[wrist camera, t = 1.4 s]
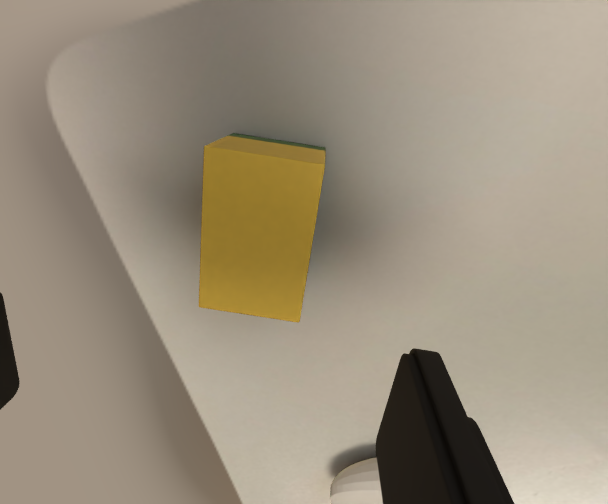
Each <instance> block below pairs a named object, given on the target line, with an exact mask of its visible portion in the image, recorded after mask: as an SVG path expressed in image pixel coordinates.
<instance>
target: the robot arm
mask: <svg viewBox="0 0 608 504" xmlns="http://www.w3.org/2000/svg"><path fill="white" fill-rule="evenodd" d="M18 388H19V377H18V372H17V366H16V361H15V356H14V351H13V346H12V341H11V336H10V330H9V326H8V320H7V315H6V310H5V305H4V300H3V296H2V294H1V293H0V409H1V408H2V407H3V406H4V405H6V403H8V402H9V401H10V400H11V399H12V398H13V397H14V395H15V394H16V392H17V390H18ZM376 457H377V464H378V471H379V478H380V486H381V493H382V500H383V504H514V502H513V500H512V498H511V496H510V494H509V491H508V489H507V487H506V485H505V483H504V481H503V478H502V476H501V474H500V472H499V470H498V468H497V465H496V463H495V461H494V459H493V457H492V455H491V452H490V450H489V448H488V446H487V444H486V442H485V439H484V437H483V435H482V433H481V431H480V429H479V427H478V425H477V423H476V422H475V421H474V420H473V419H472V418H469V417H467V415H466V412H465V410H464V408H463V406H462V403H461V401H460V399H459V397H458V394H457V392H456V390H455V388H454V385H453V383H452V381H451V378H450V376H449V374H448V372H447V369H446V367H445V365H444V363H443V360H442V358H441V356H440V354H439V353H437V352H433V351H427V350H420V349H412V350H411V351H410V353H409V354H403V355H402V356H401V359H400V362H399V366H398V369H397V372H396V375H395V379H394V382H393V385H392V389H391V392H390V395H389V399H388V402H387V405H386V409H385V412H384V415H383V418H382V422H381V425H380V428H379V432H378V435H377V440H376Z"/></svg>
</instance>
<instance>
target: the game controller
mask: <svg viewBox="0 0 608 504" xmlns="http://www.w3.org/2000/svg"><path fill="white" fill-rule="evenodd" d="M330 500H331V504H383V500H382V493H381V486H380V478H379V471H378V464H377V457H375V458H370V459H367V460H363V461H360V462H357V463H355V464H353V465H350V466H349V467H347V468H345V469H344V470H342V471H341V472H340V473H339V474H338V475H337V476H336V477H335V479H334V480H333V482H332V484H331V491H330Z"/></svg>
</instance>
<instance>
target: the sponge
mask: <svg viewBox="0 0 608 504" xmlns="http://www.w3.org/2000/svg"><path fill="white" fill-rule="evenodd" d="M325 153H326V148H325V147H319V146H312V145H306V144H299V143H293V142H286V141H280V140H274V139H267V138H261V137H254V136H248V135H241V134H235V133H233V134H230V135H228V136H226V137H224V138H221V139H219V140H217V141H215V142H212V143H210V144H208V145H206V146H204V164H203V194H202V224H201V255H200V285H199V307H201V308H208V309H214V310H221V311H227V312H234V313H240V314H247V315H253V316H260V317H266V318H273V319H279V320H286V321H292V322H299V321H300V315H301V309H302V303H303V297H304V291H305V285H306V279H307V273H308V266H309V260H310V254H311V248H312V242H313V236H314V230H315V224H316V218H317V212H318V205H319V199H320V193H321V187H322V181H323V175H324V169H325Z"/></svg>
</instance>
